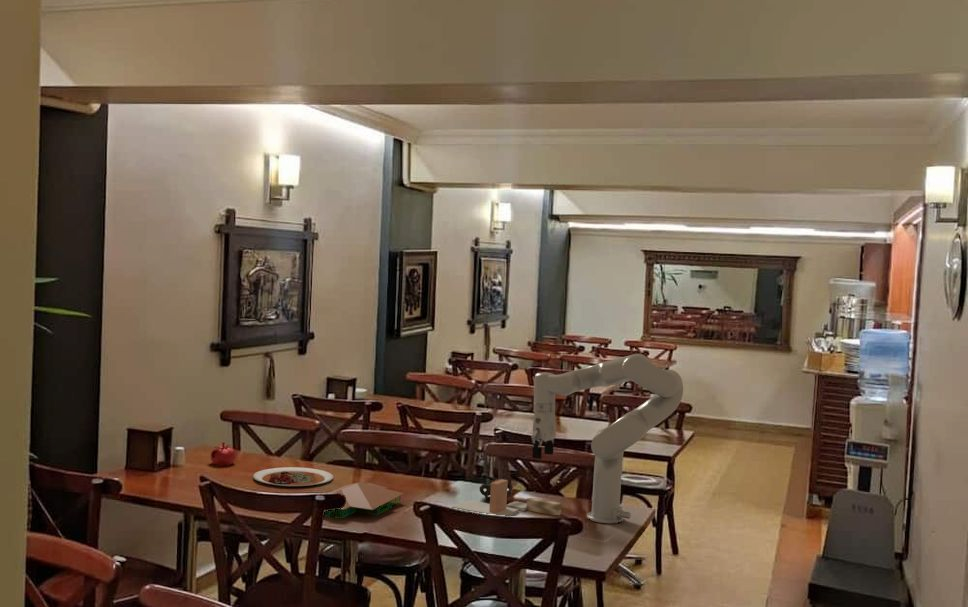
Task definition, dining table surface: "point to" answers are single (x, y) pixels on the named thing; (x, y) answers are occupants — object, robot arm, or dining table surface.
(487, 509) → the board
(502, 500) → the tile
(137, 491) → the dining table surface
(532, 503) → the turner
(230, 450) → the pomegranate
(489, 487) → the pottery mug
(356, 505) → the house
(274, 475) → the plated food
